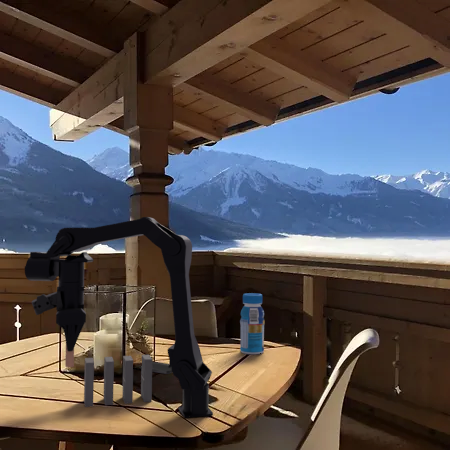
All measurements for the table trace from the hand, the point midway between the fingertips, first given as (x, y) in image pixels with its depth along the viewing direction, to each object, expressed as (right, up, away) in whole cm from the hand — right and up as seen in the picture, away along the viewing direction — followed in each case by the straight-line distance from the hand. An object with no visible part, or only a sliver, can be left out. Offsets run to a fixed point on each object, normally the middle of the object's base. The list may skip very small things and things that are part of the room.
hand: (70, 348), depth 119 cm
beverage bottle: (+45, -15, +58) cm, 75 cm away
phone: (+15, -15, +35) cm, 40 cm away
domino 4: (+13, -13, +4) cm, 19 cm away
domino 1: (0, -4, 0) cm, 4 cm away
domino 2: (+4, -13, +1) cm, 14 cm away
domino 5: (+17, -13, +5) cm, 22 cm away
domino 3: (+8, -13, +2) cm, 16 cm away
